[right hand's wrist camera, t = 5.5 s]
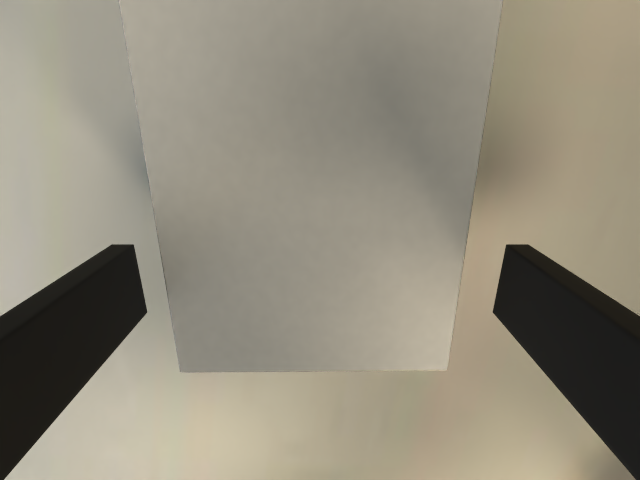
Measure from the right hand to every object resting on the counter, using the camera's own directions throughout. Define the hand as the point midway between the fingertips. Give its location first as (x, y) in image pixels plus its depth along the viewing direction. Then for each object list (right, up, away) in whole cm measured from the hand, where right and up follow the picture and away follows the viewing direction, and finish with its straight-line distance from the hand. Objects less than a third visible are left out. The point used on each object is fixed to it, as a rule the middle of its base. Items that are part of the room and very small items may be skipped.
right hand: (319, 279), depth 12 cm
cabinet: (0, +7, +6) cm, 9 cm away
